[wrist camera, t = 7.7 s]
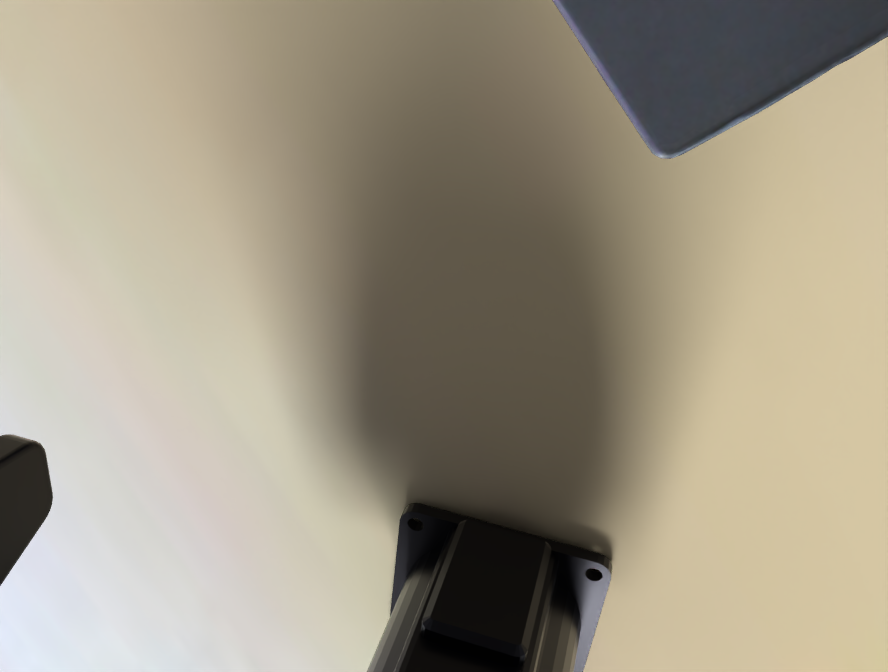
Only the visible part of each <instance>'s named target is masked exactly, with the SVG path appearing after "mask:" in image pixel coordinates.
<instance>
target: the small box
mask: <svg viewBox="0 0 888 672" xmlns="http://www.w3.org/2000/svg"><path fill="white" fill-rule="evenodd" d="M553 2H554V3H555V5H556V6H557V8H558V10H559V11H560V13H561V14H562V16H563V17H564V19H565V20H566V22H567V23H568V25H569V27H570V28H571V30H572V31H573V33H574V34H575V36H576V37H577V39H578V40H579V42H580V43H581V45H582V47H583V48H584V50H585V51H586V53H587V54H588V56H589V57H590V59H591V61H592V62H593V64H594V65H595V67H596V68H597V70H598V72H599V73H600V75H601V76H602V78H603V79H604V81H605V83H606V84H607V86H608V87H609V89H610V90H611V92H612V93H613V95H614V96H615V98H616V99H617V101H618V102H619V104H620V105H621V107H622V108H623V110H624V111H625V113H626V114H627V116H628V117H629V119H630V120H631V122H632V123H633V125H634V127H635V128H636V130H637V131H638V133H639V134H640V136H641V137H642V139H643V140H644V142H645V143H646V145H647V146H648V148H649V149H650V150H651V152H652V153H653V154H654V155H656V156H658V157H660V158H674V157H677V156H679V155H682V154H684V153H686V152H687V151H689V150H691V149H693V148H695V147H697V146H699V145H700V144H702V143H704V142H706V141H708V140H710V139H711V138H713V137H715V136H717V135H719V134H720V133H722V132H724V131H726V130H728V129H730V128H731V127H733V126H735V125H737V124H739V123H741V122H742V121H744V120H746V119H748V118H750V117H752V116H753V115H755V114H757V113H759V112H761V111H762V110H764V109H766V108H767V107H769V106H771V105H773V104H774V103H776V102H778V101H779V100H781V99H782V98H784V97H786V96H787V95H789V94H791V93H793V92H794V91H796V90H798V89H799V88H801V87H803V86H805V85H806V84H808V83H810V82H811V81H813V80H815V79H816V78H818V77H819V76H821V75H822V74H824V73H826V72H827V71H829V70H830V69H832V68H833V67H835V66H837V65H839V64H841V63H843V62H845V61H847V60H849V59H851V58H852V57H854V56H856V55H857V54H859V53H861V52H862V51H864V50H866V49H867V48H869V47H871V46H873V45H874V44H876V43H878V42H879V41H881V40H883V39H884V38H886V37H888V0H553Z"/></svg>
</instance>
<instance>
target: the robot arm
mask: <svg viewBox="0 0 888 672" xmlns="http://www.w3.org/2000/svg"><path fill="white" fill-rule="evenodd" d="M52 499H53V493H52V487H51V481H50V475H49V469H48V463H47V458H46V453H45V449H44V448H43V446H42V445H41V444H40V443H38V442H37V441H33V440H30V439H26V438H23V437H19V436H16V435H2V436H0V586H1V584H2V583H3V581H4V580H5V578H6V577H7V575H8V574H9V572H10V571H11V569H12V568H13V566H14V565H15V563H16V562H17V560H18V559H19V557H20V556H21V554H22V553H23V552H24V550H25V549H26V547H27V546H28V544H29V543H30V541H31V540H32V538H33V537H34V535H35V534H36V532H37V531H38V529H39V528H40V526H41V525H42V523H43V522H44V520H45V519H46V517H47V515H48V513H49V511H50V509H51V505H52ZM413 518H417V519H419V520H420V521H421V522H418V521H416V520H414V519H413ZM590 568H594V569H597V570H599V571H598V572H597V571H592V570H590ZM611 574H612V564H611V562H610V560H609V559H608V558H607V557H606V556H604V555H602V554H599V553H596V552H593V551H589V550H585V549H582V548H578V547H575V546H571V545H567V544H564V543H560V542H557V541H553V540H549V539H546V538H542V537H539V536H535V535H531V534H528V533H524V532H520V531H517V530H513V529H510V528H506V527H502V526H499V525H495V524H492V523H488V522H484V521H481V520H477V519H474V518H470V517H466V516H463V515H459V514H456V513H452V512H448V511H445V510H441V509H437V508H434V507H430V506H427V505H423V504H418V503H413V504H409V505H408V506H407V507H406V508H405V510H404V512H403V514H402V516H401V519H400V525H399V535H398V545H397V554H396V564H395V574H394V584H393V593H392V603H391V613H390V619H389V621H388V623H387V626H386V628H385V630H384V633H383V635H382V637H381V640H380V642H379V644H378V647H377V649H376V651H375V654H374V656H373V659H372V661H371V663H370V666H369V668H368V670H367V672H583V670H584V667H585V664H586V660H587V657H588V654H589V650H590V647H591V644H592V640H593V637H594V634H595V630H596V627H597V624H598V620H599V617H600V613H601V610H602V607H603V603H604V600H605V597H606V593H607V590H608V587H609V583H610V580H611Z"/></svg>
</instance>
